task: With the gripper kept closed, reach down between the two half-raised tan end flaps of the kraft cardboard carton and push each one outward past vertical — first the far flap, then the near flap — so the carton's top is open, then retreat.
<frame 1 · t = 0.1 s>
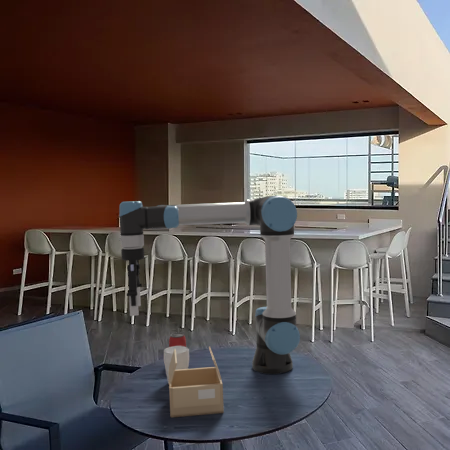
hand: (135, 310, 170), 28 cm above the table, fingers open, 13 cm apart
carton: (195, 405, 160), on the table
beer can: (178, 365, 198), on the table
cup: (177, 383, 179), on the table
near flap: (218, 372, 160), point 10 cm above the table, hinge at -18.0°
far flap: (169, 376, 158), point 10 cm above the table, hinge at -18.0°
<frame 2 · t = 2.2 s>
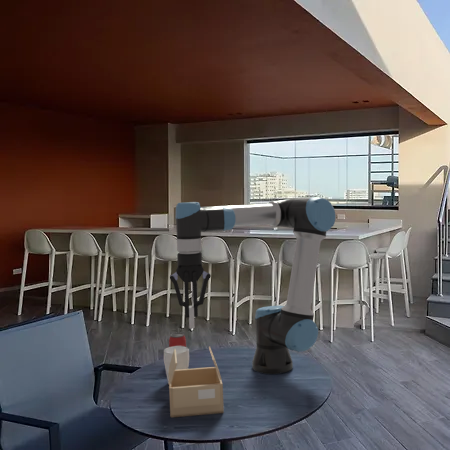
hand: (191, 327, 158), 25 cm above the table, fingers closed
nothing on the table moved.
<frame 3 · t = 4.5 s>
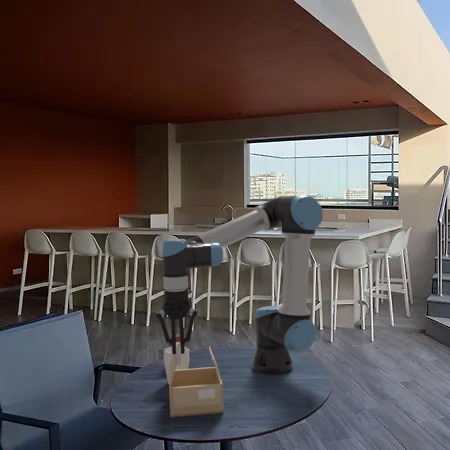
hand: (178, 363, 158), 14 cm above the table, fingers closed
far flap: (169, 376, 158), point 10 cm above the table, hinge at -18.0°, touching gripper
everything else where it was.
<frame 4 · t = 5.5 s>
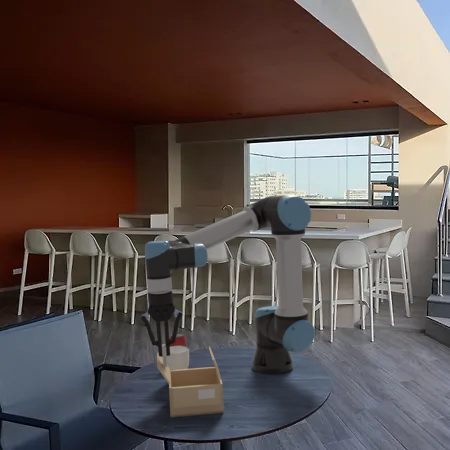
hand: (165, 366, 158), 13 cm above the table, fingers closed
far flap: (169, 376, 158), point 10 cm above the table, hinge at 30.8°, touching gripper
everything else where it was.
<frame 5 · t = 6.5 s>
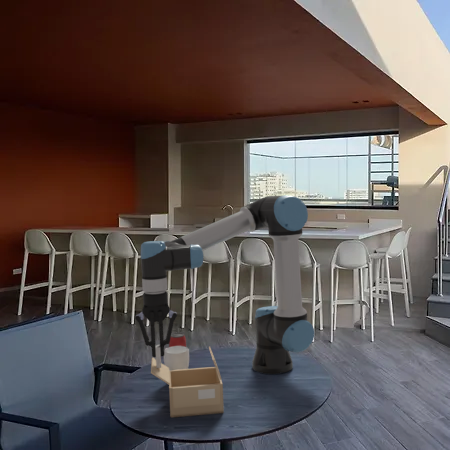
hand: (158, 366, 158), 13 cm above the table, fingers closed
far flap: (169, 376, 158), point 10 cm above the table, hinge at 52.5°, touching gripper
everything else where it was.
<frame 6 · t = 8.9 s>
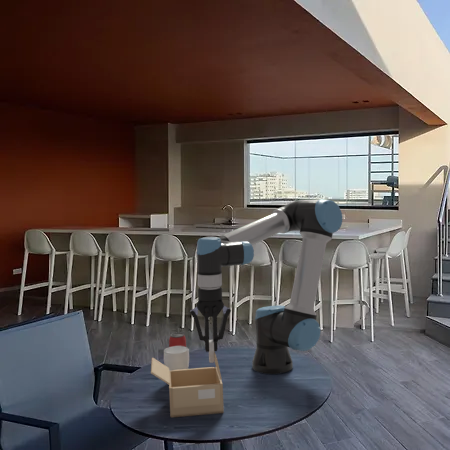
hand: (211, 361, 160), 14 cm above the table, fingers closed
near flap: (218, 372, 160), point 10 cm above the table, hinge at -10.6°, touching gripper
far flap: (169, 376, 158), point 10 cm above the table, hinge at 52.6°
everything else where it was.
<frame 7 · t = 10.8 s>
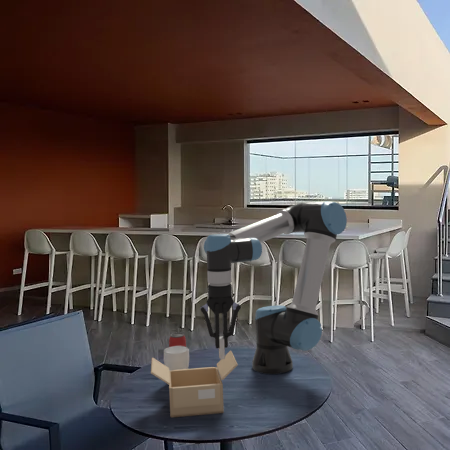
hand: (221, 357, 160), 15 cm above the table, fingers closed
near flap: (218, 372, 160), point 10 cm above the table, hinge at 48.1°
everything else where it was.
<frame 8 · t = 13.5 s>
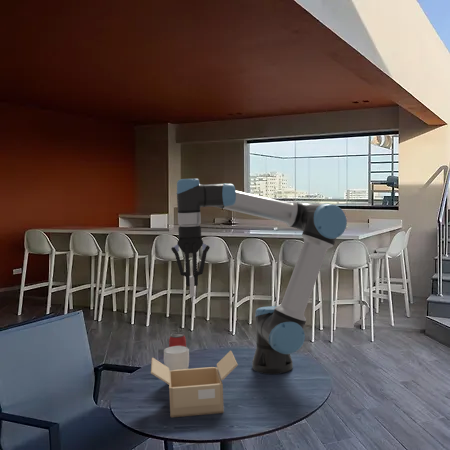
hand: (192, 295, 170), 32 cm above the table, fingers closed
nothing on the table moved.
at the end: far flap at +53° (first picture: -18°); near flap at +48° (first picture: -18°) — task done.
